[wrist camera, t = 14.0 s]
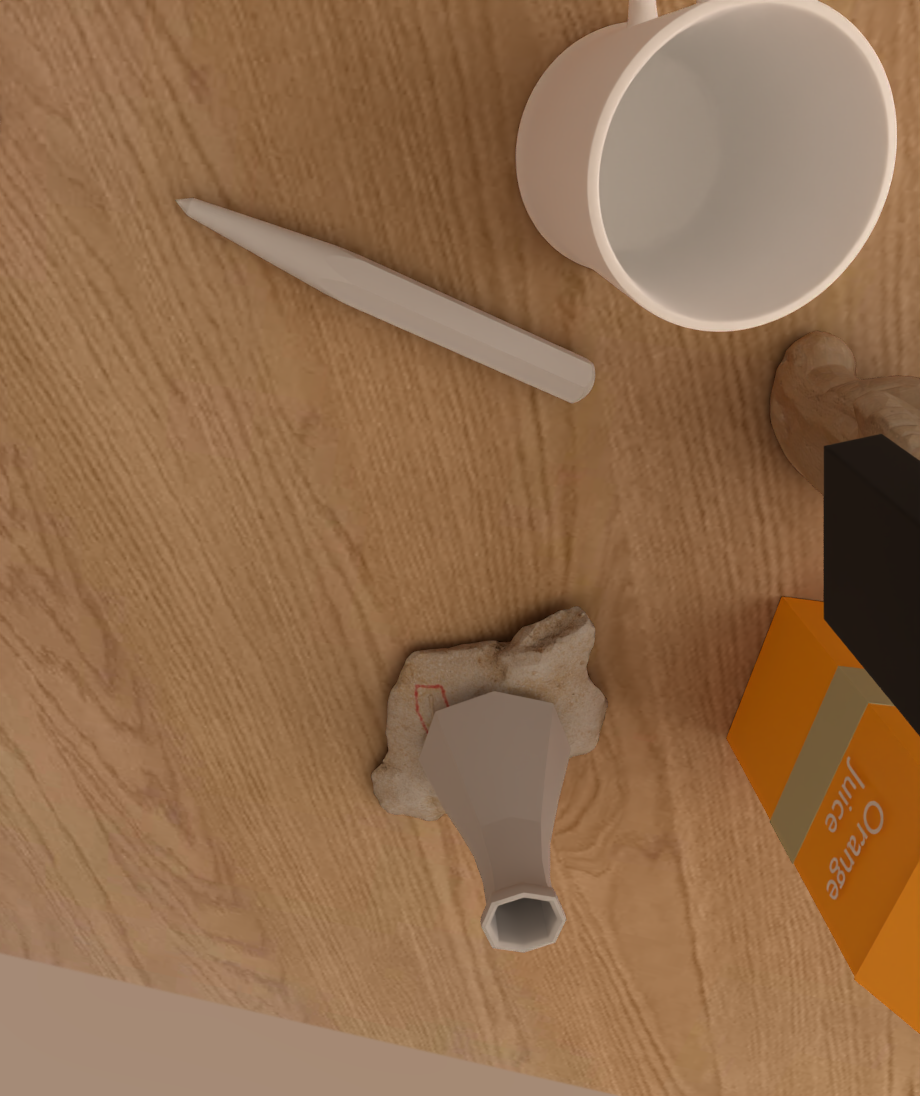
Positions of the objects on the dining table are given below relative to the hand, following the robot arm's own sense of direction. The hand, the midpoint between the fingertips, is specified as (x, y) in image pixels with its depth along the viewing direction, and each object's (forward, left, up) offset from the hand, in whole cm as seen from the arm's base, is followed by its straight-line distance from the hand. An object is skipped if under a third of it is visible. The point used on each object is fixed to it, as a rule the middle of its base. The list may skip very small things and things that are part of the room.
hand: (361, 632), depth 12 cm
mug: (-5, +11, -25) cm, 28 cm away
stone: (+21, +1, -26) cm, 33 cm away
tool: (0, +1, -26) cm, 26 cm away
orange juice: (+23, +18, -26) cm, 39 cm away
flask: (+21, +1, -23) cm, 31 cm away
